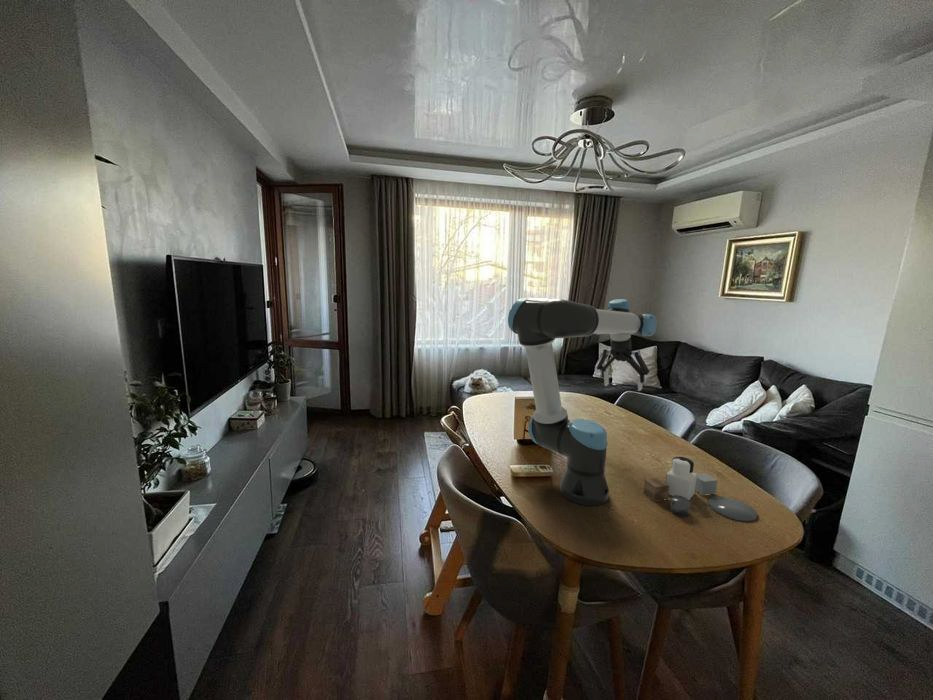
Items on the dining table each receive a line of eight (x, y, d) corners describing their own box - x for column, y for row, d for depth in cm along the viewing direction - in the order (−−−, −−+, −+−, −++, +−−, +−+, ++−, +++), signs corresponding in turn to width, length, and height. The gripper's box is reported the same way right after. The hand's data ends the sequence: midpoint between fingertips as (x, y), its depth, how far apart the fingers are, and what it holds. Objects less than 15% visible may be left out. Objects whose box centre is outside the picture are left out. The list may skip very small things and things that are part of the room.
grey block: (702, 496, 124) (704, 481, 123) (690, 488, 129) (692, 474, 128) (715, 494, 125) (717, 480, 124) (703, 486, 130) (704, 473, 129)
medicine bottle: (671, 485, 130) (675, 452, 128) (694, 494, 125) (698, 459, 123) (664, 493, 125) (667, 459, 123) (688, 502, 120) (692, 466, 118)
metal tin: (677, 517, 112) (679, 505, 111) (665, 508, 117) (667, 496, 116) (692, 515, 113) (693, 503, 112) (679, 506, 118) (681, 494, 117)
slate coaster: (732, 523, 109) (733, 520, 109) (699, 500, 121) (699, 498, 121) (766, 518, 112) (767, 516, 112) (731, 497, 123) (731, 494, 123)
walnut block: (653, 501, 120) (655, 486, 120) (643, 493, 125) (644, 479, 124) (667, 500, 121) (669, 485, 121) (656, 492, 126) (658, 477, 125)
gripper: (657, 337, 145) (658, 387, 152) (594, 334, 162) (597, 379, 168) (650, 343, 140) (652, 395, 147) (586, 339, 157) (590, 386, 163)
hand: (623, 387), depth 157 cm, fingers open, 13 cm apart
